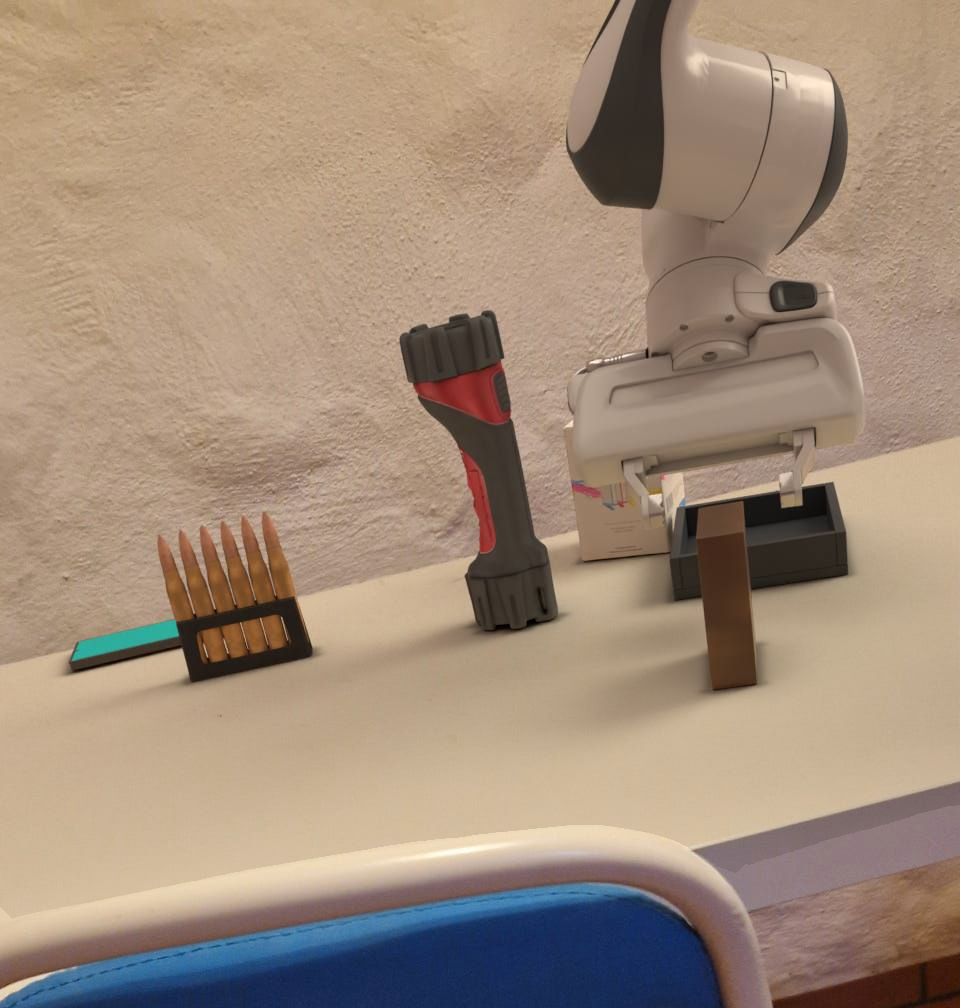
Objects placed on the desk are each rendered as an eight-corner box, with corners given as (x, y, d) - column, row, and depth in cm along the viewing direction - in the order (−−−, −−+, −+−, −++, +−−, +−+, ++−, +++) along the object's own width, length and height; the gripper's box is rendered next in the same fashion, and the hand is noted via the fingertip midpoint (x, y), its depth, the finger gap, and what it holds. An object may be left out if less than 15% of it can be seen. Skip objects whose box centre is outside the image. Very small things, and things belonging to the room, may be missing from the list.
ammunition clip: (313, 649, 121) (275, 506, 114) (312, 655, 119) (274, 511, 113) (193, 675, 121) (149, 534, 115) (191, 682, 120) (146, 539, 113)
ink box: (603, 536, 134) (582, 385, 127) (689, 525, 131) (672, 371, 124) (580, 563, 127) (557, 406, 120) (671, 552, 124) (652, 391, 117)
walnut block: (755, 645, 100) (743, 500, 94) (757, 684, 93) (743, 531, 88) (713, 650, 100) (698, 508, 95) (712, 690, 94) (695, 539, 89)
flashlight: (447, 624, 119) (386, 330, 107) (531, 599, 121) (480, 306, 108) (475, 644, 113) (413, 334, 101) (564, 617, 114) (513, 308, 102)
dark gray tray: (835, 520, 123) (833, 481, 121) (848, 574, 109) (846, 531, 107) (680, 544, 126) (676, 507, 124) (674, 600, 112) (669, 558, 111)
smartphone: (226, 625, 129) (68, 662, 129) (229, 634, 130) (71, 671, 129) (227, 606, 136) (76, 641, 135) (230, 614, 136) (79, 649, 136)
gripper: (558, 336, 99) (566, 513, 96) (856, 278, 94) (873, 462, 91) (573, 393, 105) (581, 560, 102) (854, 341, 100) (871, 515, 97)
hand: (722, 513), depth 97 cm, fingers open, 8 cm apart
